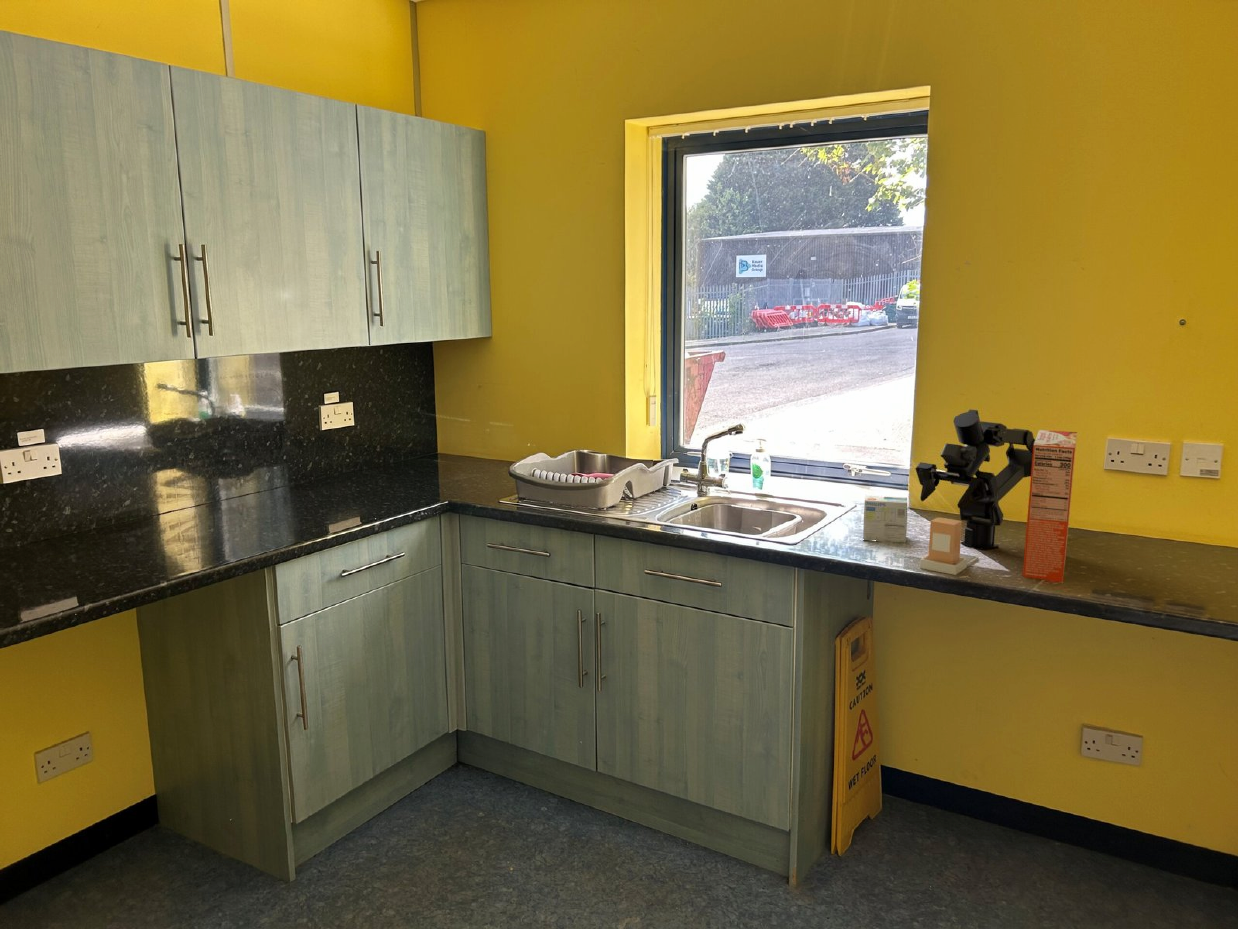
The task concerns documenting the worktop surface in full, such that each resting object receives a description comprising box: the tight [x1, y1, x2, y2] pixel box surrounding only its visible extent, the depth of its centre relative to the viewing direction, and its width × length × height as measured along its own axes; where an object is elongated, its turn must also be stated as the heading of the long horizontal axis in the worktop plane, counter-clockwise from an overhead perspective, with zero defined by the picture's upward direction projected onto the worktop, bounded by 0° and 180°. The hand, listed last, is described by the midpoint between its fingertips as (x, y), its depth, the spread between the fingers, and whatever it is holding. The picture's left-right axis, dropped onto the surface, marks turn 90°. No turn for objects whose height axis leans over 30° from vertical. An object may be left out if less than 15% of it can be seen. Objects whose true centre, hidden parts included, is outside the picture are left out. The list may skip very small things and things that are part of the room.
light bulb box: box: [862, 494, 908, 543], centre depth 236 cm, size 11×7×11 cm, turn 74°
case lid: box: [960, 553, 980, 567], centre depth 218 cm, size 8×8×1 cm
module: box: [928, 516, 963, 565], centre depth 211 cm, size 5×6×11 cm
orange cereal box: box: [1022, 429, 1078, 583], centre depth 211 cm, size 23×8×30 cm, turn 153°
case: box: [919, 553, 968, 576], centre depth 212 cm, size 7×8×2 cm
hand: (939, 503), depth 214 cm, fingers open, 9 cm apart
